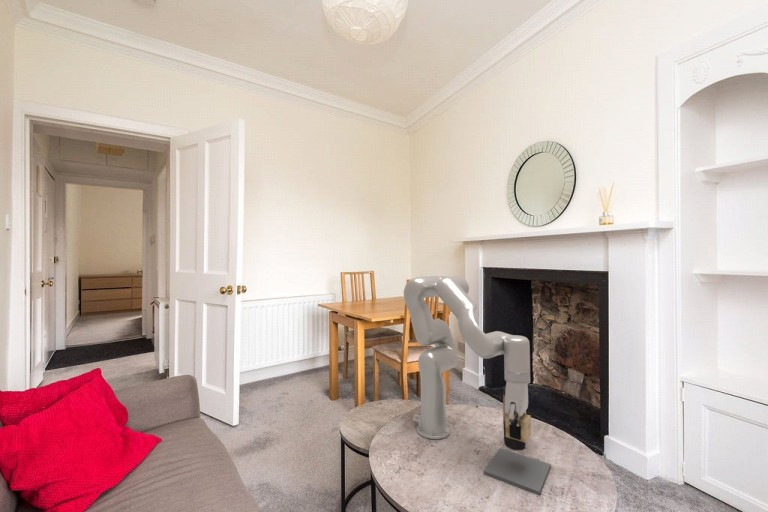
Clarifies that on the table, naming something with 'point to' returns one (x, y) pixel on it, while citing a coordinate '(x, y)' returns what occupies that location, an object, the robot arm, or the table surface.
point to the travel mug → (507, 441)
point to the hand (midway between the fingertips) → (518, 433)
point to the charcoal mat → (518, 470)
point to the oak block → (525, 427)
